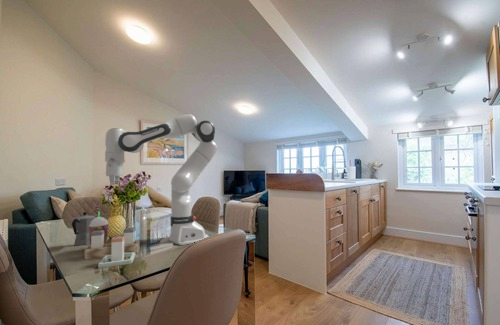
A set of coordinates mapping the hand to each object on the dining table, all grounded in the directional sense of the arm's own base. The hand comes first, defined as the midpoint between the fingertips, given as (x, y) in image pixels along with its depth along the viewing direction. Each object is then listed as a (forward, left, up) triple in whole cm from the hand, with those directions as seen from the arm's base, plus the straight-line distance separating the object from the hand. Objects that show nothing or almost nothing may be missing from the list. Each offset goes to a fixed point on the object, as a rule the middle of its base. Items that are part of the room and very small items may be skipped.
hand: (114, 184), depth 121 cm
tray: (-7, +26, -33) cm, 43 cm away
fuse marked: (-7, +26, -32) cm, 42 cm away
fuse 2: (-10, +15, -32) cm, 36 cm away
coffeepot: (+17, -10, -33) cm, 39 cm away
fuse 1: (+3, +15, -32) cm, 35 cm away
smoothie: (+6, +4, -33) cm, 34 cm away
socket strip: (-3, +15, -33) cm, 36 cm away
